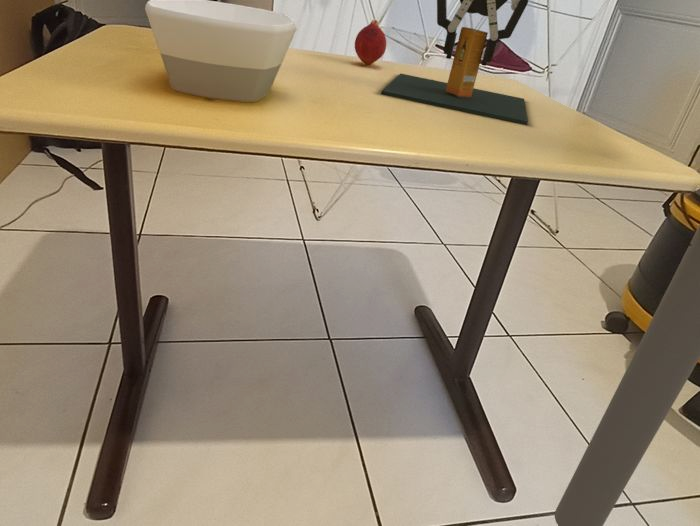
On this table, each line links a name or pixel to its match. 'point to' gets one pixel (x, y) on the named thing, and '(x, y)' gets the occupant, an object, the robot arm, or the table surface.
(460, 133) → the table surface
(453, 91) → the supplement box
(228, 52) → the bowl
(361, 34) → the onion
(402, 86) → the mat
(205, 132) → the table surface
